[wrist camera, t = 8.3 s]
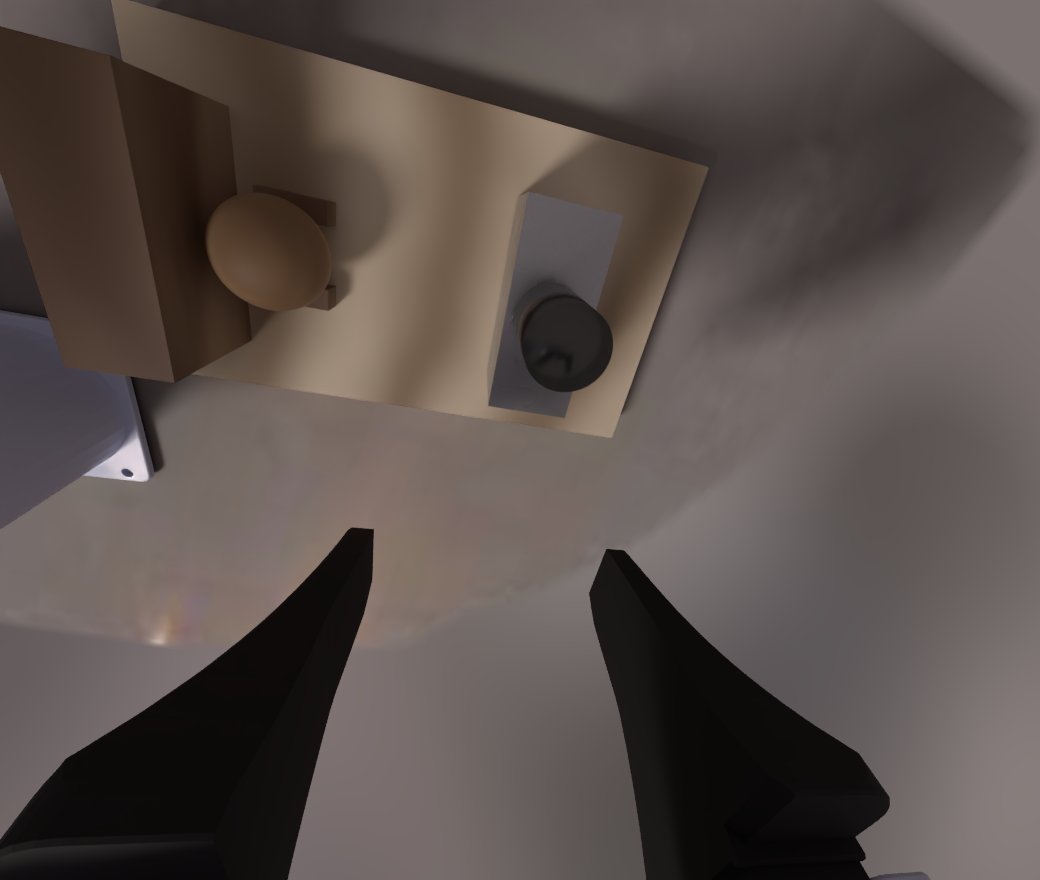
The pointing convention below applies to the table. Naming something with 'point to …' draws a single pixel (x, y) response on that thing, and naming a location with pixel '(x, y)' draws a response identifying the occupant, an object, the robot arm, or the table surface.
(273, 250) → the walnut
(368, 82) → the base
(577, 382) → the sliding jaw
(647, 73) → the table surface
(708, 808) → the robot arm
